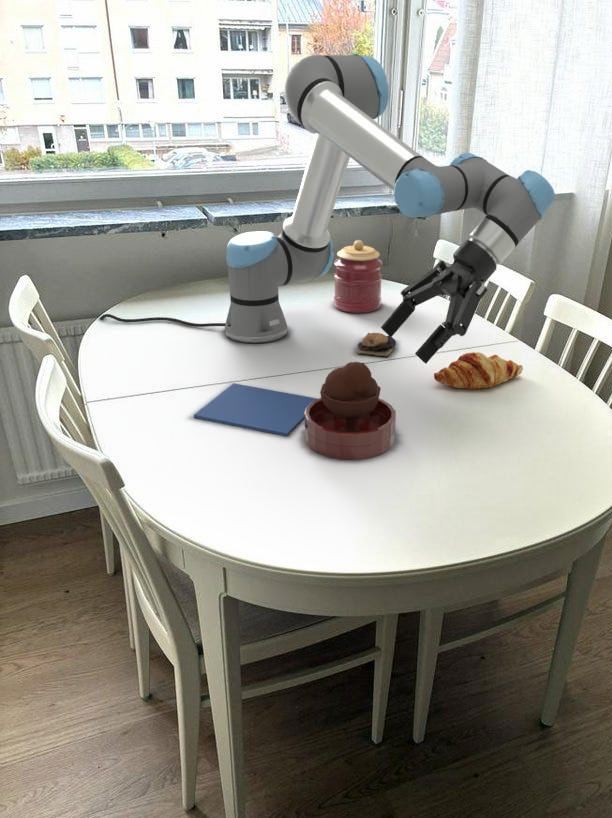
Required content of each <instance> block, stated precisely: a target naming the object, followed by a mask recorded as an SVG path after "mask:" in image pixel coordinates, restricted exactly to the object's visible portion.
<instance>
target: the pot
mask: <svg viewBox="0 0 612 818" xmlns="http://www.w3.org/2000/svg"><path fill="white" fill-rule="evenodd" d="M396 413H397V410H396V409H395V408H394V407H393V405H392V404H390V403H389V402H387V401H386V400H384V399H382V398H379V399H378V403H377V405H376V407H375V408H374V409H373V410H372V411H371V412H370V413H368V414H366V415H364V416H362V417H360V418H358V419H355V427H356V428H359V429H360V430H362V432H339V431H338V430H340V429H342V428H344V427H346V420H345V419H344V418H340V417H338V416H336V415H335V414H334V413H333V412H332V411H330V410H329V409H328V408H327V407H326V406H325V405H324V403H323V401H322V399H321V397H319V398H317V400H315V401H313V402H311V403H310V404H309V405H308V406H307V407H306V410H305V414H304V416H305V418H304V438H305V442H306V444H307V446H308V447H309V448H310V449H311V450H312V451H314V452H315V453H317V454H319V455H321V456H324V457H326V458H330V459H331V458H332V459H334V460H335V459H336V460H345V461H356V460H357V461H360V460H365V459H366V460H367V459H371V458H375V457H377V456H378V457H379V456H380V455H383V454H384V453H386V452H387V451H389V450H390V449H391V448H392V447H393V445H394V443H395V441H396V440H395V439H396V438H395V437H396V419H397V416H396Z"/></svg>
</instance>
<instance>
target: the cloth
mask: <svg viewBox="0 0 612 818" xmlns="http://www.w3.org/2000/svg"><path fill="white" fill-rule="evenodd" d="M317 399H318V398H317V397H311V396H306V395H300V394H295V393H289V392H284V391H277V390H273V389H269V388H267V389H266V388H261V387H256V386H251V385H245V384H239V383H232V384H231V385H230V386H228V387H227V388H226V389H225V390H223V391H222V392H221V393H220V394H219V395H217V396H215V397H214V398H213V399H211V401H209V402H208V403H207V404H206V405H204V406H203V407H201V409H199V410H198V411H196V413H195V414H193V418H194V419H200V420H204V421H209V422H215V423H220V424H225V425H230V426H234V427H239V428H244V429H249V430H255V431H259V432H264V433H270V434H274V435H280V436H284V437H288V436H289V435H290V434H291V433H293V431H294V430H295V429H296V428H297V427H298V426H299V425H300V423H302V422H303V421H304V420H305V416H304V414H305V410H306V407H307V406H308V405H309V404H310V403H311V402H313V401H315V400H317Z"/></svg>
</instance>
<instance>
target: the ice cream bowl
mask: <svg viewBox="0 0 612 818" xmlns="http://www.w3.org/2000/svg"><path fill="white" fill-rule="evenodd" d="M372 375H373V374H372V372H371V370H370V368H369V366H367V365H366V364H365V363H364V362H360V361H350V362H348V363H346V364H345V365H344V366H341V367H337V368H334V369H333V370H331V371H329V373H328V374H327V375H326V377H325V381H324V383H322V385H321V388H320V391H319V394H320V398H321V399H322V401H323V403H324V405H325V406H326V407H327V408H328V409H329V410H330V411H332V412H333V413H334V414H335V415H336V416H338V417H340V418H344V419H345V420H346V427H344V428H342V429H340V430H338V431H339V432H362V430H360V429H359V428H356V427H355V419H358V418H360V417H362V416H364V415H366V414H368V413H370V412H371V411H372V410H373V409H374V408H375V407H376V405H377V403H378V399H380V394H381V386H379V385H378V383H377V381H376V379H375V378H373V377H372Z"/></svg>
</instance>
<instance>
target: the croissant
mask: <svg viewBox="0 0 612 818" xmlns="http://www.w3.org/2000/svg"><path fill="white" fill-rule="evenodd" d="M523 370H524V367H523V365H522V364H518V363H516V362H515V361H513V360H512V359H509V360H506V359H505V358H501V356H500V355H498V354H492V355H490V356H487V355H486V354H484V353H483V352H479V351H477V352H475V351H473V352H472V351H470V352H465V353H463V354H461V355H460V356H459V357H458V358H457V360H454V361H452V362H450V363H449V365H448V367H446V366H445V367H443V368H441V369H439V371H437V372H435V373H433V378H434V380H435V382H437V383H440V384H442V385H447V386H450V387H452V388H456V389H471V390H472V389H473V390H476V389H477V390H478V389H483V388H486V389H487V388H491V387H494V386H497V385H499V384H501V383H505V382H507V381H509V380H510V379H512V378H516V377H517V376H519V375H520V374H522V372H523Z"/></svg>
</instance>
